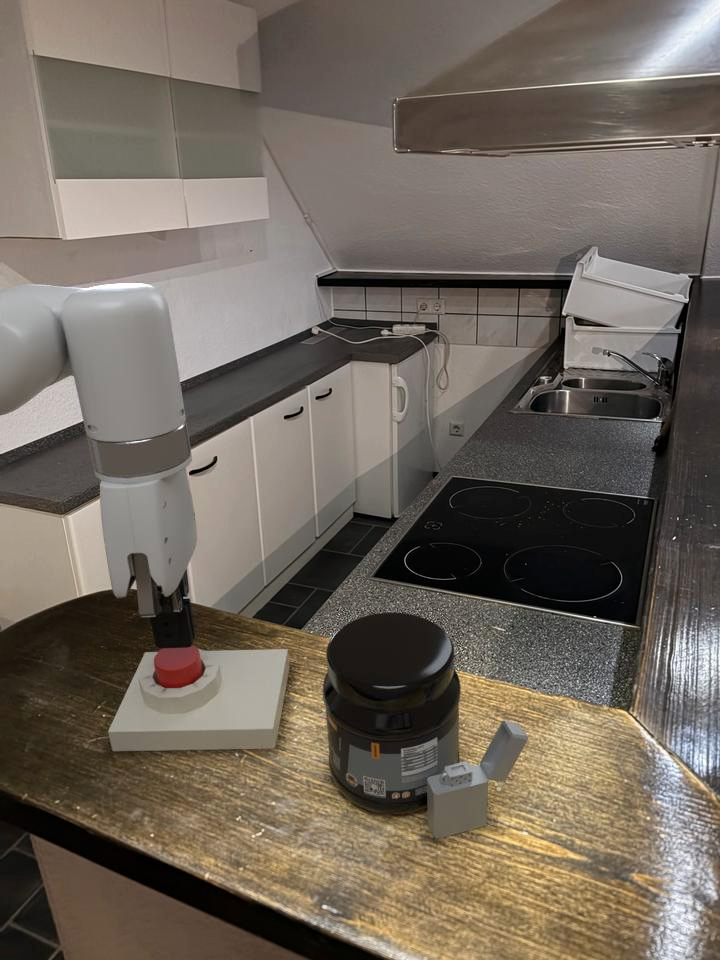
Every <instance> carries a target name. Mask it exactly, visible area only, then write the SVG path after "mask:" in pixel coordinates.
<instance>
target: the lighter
mask: <svg viewBox="0 0 720 960" xmlns="http://www.w3.org/2000/svg"><path fill="white" fill-rule="evenodd" d="M528 741H529V737H528V734H527V733H526V731H525V730H524V729H523V727H522V725H521V724H520V723H519V722H513V721H508V720H501V722H500V723H499V726H498V728H497V730H496V731H495V733H494V735H493V737H492V739H491V741H490V742H489V745H488V747H487V749H486V750H485V752H484V754H483V756H482V758H481V760H480V762H479V764H474V765H470V764H469V762H468V761H467V760H466V761H461V762H459V763H457V764H453V765H449V766H445V770H444V771H443V772H442V774H439V775H435V776H431V777H428V779H427V807H426V809H427V825H428V827H429V829H430V831H431V833H432V837H433V838H434V839H436V840H439V839H443V838H446V837H450V836H454V835H458V834H462V833H465V832H468V831H472V830H477V829H479V828H483V827H486V826H487V824H488V802H489V801H488V797H489V781H493V782H501V783H505V782H506V781H507V779H508V777H509V775H510V773H511V771H512V769H513V768H514V766H515V765H516V762H517V761H518V759H519V757H520V755H521V753H522V752H523V749H524V748H525V746H526V744H527V742H528Z"/></svg>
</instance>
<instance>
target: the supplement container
mask: <svg viewBox="0 0 720 960" xmlns="http://www.w3.org/2000/svg"><path fill="white" fill-rule="evenodd" d="M325 655H326V656H325V657H326V668H327V669H326V670H327V672H326V674H325V677H324V679H323V684H322V700H323V704H324V707H325V719H326V729H327V743H328V767H329V772H330V776H331V778H332V781H333V782H334V784H335V786H336V788H337V789H338V790H339V791H340V793H341V794H342V795H343V796H344V797H345V798H346V799H347V800H349V801H350V802H352V803H353V804H355V805H357V806H358V807H360V808H363V809H365V810H368V811H370V812H373V813H377V814H378V813H379V814H385V815H403V814H409V813H414V812H418V811H421V810H424V809H427V779H428V777H431V776H435V775H439V774H442V772H443V771H444V770H445V766H449V765H453V764H457V763H460V750H459V744H460V743H459V742H460V741H459V739H460V738H459V737H460V736H459V734H460V732H459V731H460V729H459V728H460V727H459V726H460V725H459V724H460V723H459V722H460V721H459V720H460V718H459V717H460V700H461V696H462V695H461V694H462V686H461V680H460V676H459V674H458V673H457V671H456V669H455V648H454V644H453V640H452V639H451V636H449V634H448V633H447V632H446V630H444V628H442V627H441V626H440V625H438V624H436V623H435V622H433V621H432V620H430V619H427V618H424V617H422V616H419V615H415V614H411V613H404V612H378V613H372V614H368V615H364V616H361V617H359V618H356V619H354V620H351V621H350V622H348V623H346V624H344V625H343V626H341V627H340V628H339V629H338V630H337V631H336V632H334V634H333V635H332V636H331V638H330V640H329V641H328V644H327V647H326V654H325Z"/></svg>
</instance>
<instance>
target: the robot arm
mask: <svg viewBox="0 0 720 960" xmlns="http://www.w3.org/2000/svg"><path fill="white" fill-rule="evenodd" d="M178 364H179V363H178V358H177V351H176V346H175V338H174V333H173V327H172V320H171V313H170V309H169V304H168V300H167V299H166V297H165V296H164V294H163V293H162V291H161V290H160V289H159V288H157V287H156V286H153V285H150V284H146V283H136V282H135V283H134V282H133V283H131V282H129V283H128V282H127V283H125V282H124V283H111V284H102V285H96V286H91V287H86V288H83V287H69V286H58V285H49V284H39V283H38V284H36V283H25V284H16V285H12V286H8V287H5V288H2V289H0V416H5V415H7V414H10V413H13V412H14V411H16V410H19V409H20V408H21V407H22V406H24V405H25V404H27V403H28V402H30V401H31V400H33V399H34V398H35V397H36V396H38V395H39V394H40V393H41V392H42V391H44V390H45V389H47V388H49V387H51V386H54V385H55V384H57V383H59V382H61V381H63V380H65V379H67V378H69V377H73V378H74V385H75V388H76V393H77V398H78V402H79V406H80V411H81V415H82V416H81V417H82V420H83V425H84V430H85V435H86V440H87V445H88V449H89V454H90V459H91V464H92V468H93V472H94V473H93V474H94V476H95V477H96V478H97V479H98V480H100V483H99V504H100V506H99V507H100V516H101V517H100V520H101V529H102V536H103V544H104V550H105V556H106V562H107V569H108V574H109V580H110V585H111V590H112V594H113V595H114V596H115V598H117V599H123V598H126V597H127V596H128V594H129V592H130V591H131V589H132V587H133V585H134V583H135V587H136V595H137V605H138V614H139V617H140V618H149V620H150V625H151V631H152V635H153V641H154V644H155V647H156V648H157V649H163V648H188V647H191V645H193V642H194V640H195V637H196V634H197V631H196V627H195V626H196V625H195V620H194V613H193V608H192V603H191V598H190V597H189V594H190V584H189V578H188V577H189V576H188V566H189V564H190V562H191V559H192V558H193V555H194V553H195V550H196V547H197V543H198V531H197V528H198V527H197V521H196V513H195V507H194V502H193V497H192V491H191V486H190V482H189V478H188V473H187V468H188V467H189V466H190V464H191V462H192V461H193V456H192V449H191V443H190V436H189V435H190V434H189V430H188V424H187V417H186V411H185V405H184V398H183V391H182V385H181V377H180V371H179V365H178Z"/></svg>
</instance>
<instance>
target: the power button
mask: <svg viewBox="0 0 720 960" xmlns="http://www.w3.org/2000/svg"><path fill="white" fill-rule="evenodd" d="M198 649H199V648H198V647H197V646H195V645H194V644H192V645H191V647H188V648H161V649H160V650H159V651H157V652H158V653H157V654H156V656H155V657H154V667H155V672H156V677H157V681H158V683H159V684H160V685H161V686H162V687H164V688H182V687H185V686H188V685H190V684H193V683H195V682H196V681H197V680H198V679H199V678H200V677H201V675H202V665H201V659H200V653H199V650H198Z"/></svg>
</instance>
